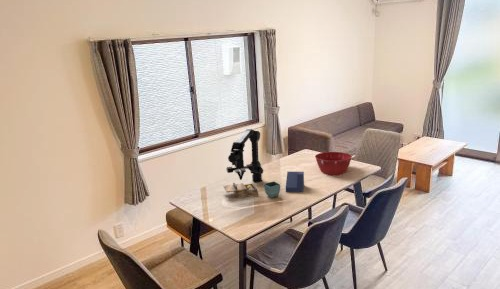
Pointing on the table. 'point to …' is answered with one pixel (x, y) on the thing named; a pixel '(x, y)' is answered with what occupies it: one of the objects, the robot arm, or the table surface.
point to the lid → (235, 187)
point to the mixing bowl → (333, 162)
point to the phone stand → (295, 182)
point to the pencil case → (246, 192)
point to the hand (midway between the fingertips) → (240, 179)
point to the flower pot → (272, 189)
